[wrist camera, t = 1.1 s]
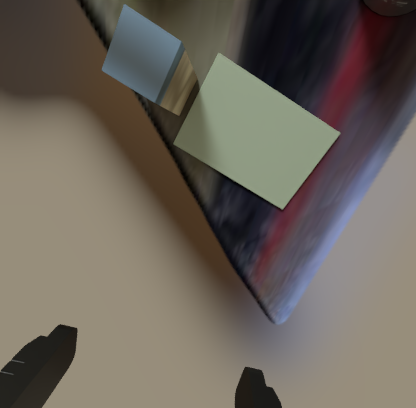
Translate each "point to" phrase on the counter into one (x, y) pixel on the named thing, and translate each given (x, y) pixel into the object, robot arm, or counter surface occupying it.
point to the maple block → (150, 61)
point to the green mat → (253, 133)
